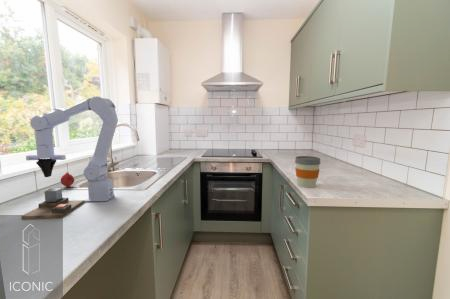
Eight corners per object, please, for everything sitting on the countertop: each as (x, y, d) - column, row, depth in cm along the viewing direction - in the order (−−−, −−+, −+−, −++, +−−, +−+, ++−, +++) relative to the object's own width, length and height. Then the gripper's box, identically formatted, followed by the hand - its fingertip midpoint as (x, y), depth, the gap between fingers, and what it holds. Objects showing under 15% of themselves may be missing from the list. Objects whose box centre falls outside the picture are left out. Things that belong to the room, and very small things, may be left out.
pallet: (84, 202, 95) (84, 196, 95) (62, 217, 80) (61, 210, 80) (50, 203, 94) (50, 197, 94) (21, 218, 79) (20, 211, 79)
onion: (59, 189, 114) (57, 173, 113) (64, 186, 120) (62, 171, 119) (72, 188, 116) (71, 172, 115) (76, 185, 121) (75, 170, 120)
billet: (62, 202, 93) (61, 188, 92) (57, 205, 89) (55, 191, 88) (52, 202, 92) (50, 188, 91) (45, 206, 88) (44, 191, 87)
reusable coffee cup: (289, 183, 124) (290, 156, 122) (306, 181, 129) (307, 155, 128) (306, 190, 113) (307, 160, 111) (324, 187, 118) (326, 158, 116)
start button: (67, 208, 85) (67, 203, 85) (63, 211, 83) (62, 206, 82) (60, 208, 85) (59, 204, 85) (55, 211, 82) (55, 206, 82)
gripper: (68, 143, 100) (71, 174, 101) (33, 144, 99) (36, 174, 100) (58, 145, 93) (61, 177, 94) (20, 145, 92) (24, 178, 93)
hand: (48, 176), depth 97 cm, fingers closed
